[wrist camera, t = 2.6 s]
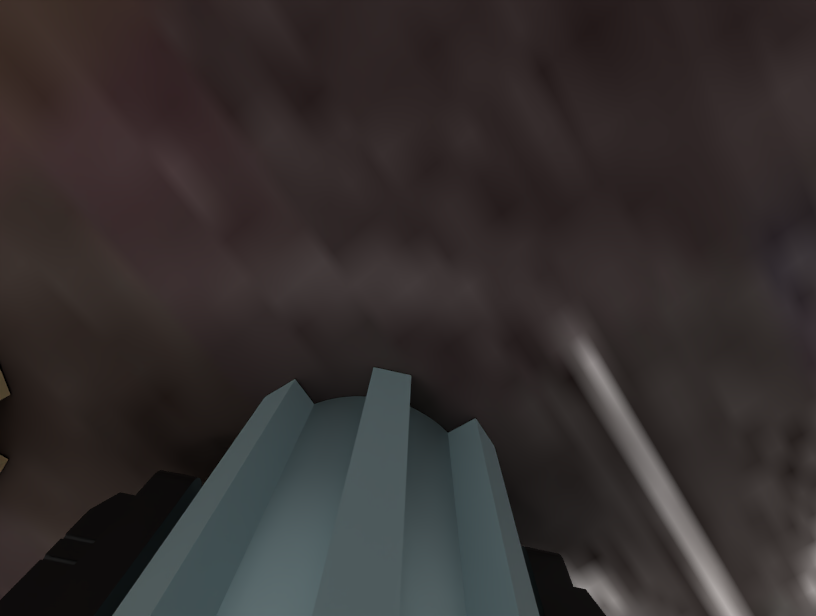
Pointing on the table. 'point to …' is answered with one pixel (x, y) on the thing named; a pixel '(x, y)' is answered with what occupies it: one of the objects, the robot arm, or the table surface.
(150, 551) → the robot arm
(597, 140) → the table surface
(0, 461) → the amber gear
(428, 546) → the teal gear
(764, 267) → the table surface
